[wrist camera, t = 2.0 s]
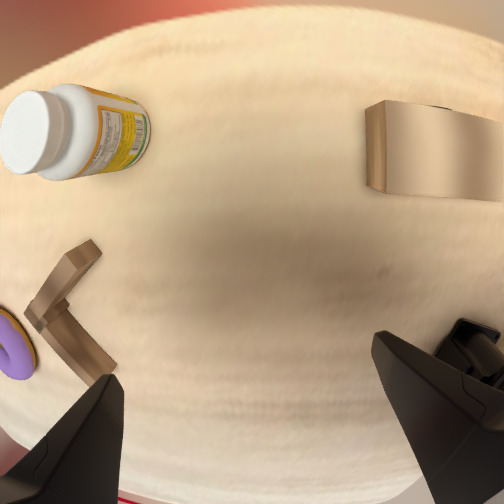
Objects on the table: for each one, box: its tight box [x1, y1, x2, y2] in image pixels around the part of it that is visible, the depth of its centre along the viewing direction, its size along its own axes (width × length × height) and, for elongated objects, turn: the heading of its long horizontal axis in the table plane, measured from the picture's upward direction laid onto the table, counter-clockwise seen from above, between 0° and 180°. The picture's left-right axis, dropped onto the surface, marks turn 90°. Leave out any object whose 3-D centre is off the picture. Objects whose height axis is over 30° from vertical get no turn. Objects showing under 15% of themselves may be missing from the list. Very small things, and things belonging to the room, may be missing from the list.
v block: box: [24, 240, 117, 387], centre depth 22 cm, size 8×13×4 cm, turn 174°
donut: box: [0, 309, 36, 380], centre depth 26 cm, size 10×9×5 cm
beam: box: [365, 100, 504, 202], centre depth 15 cm, size 12×5×4 cm, turn 92°
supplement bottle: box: [0, 84, 150, 181], centre depth 14 cm, size 5×5×10 cm
